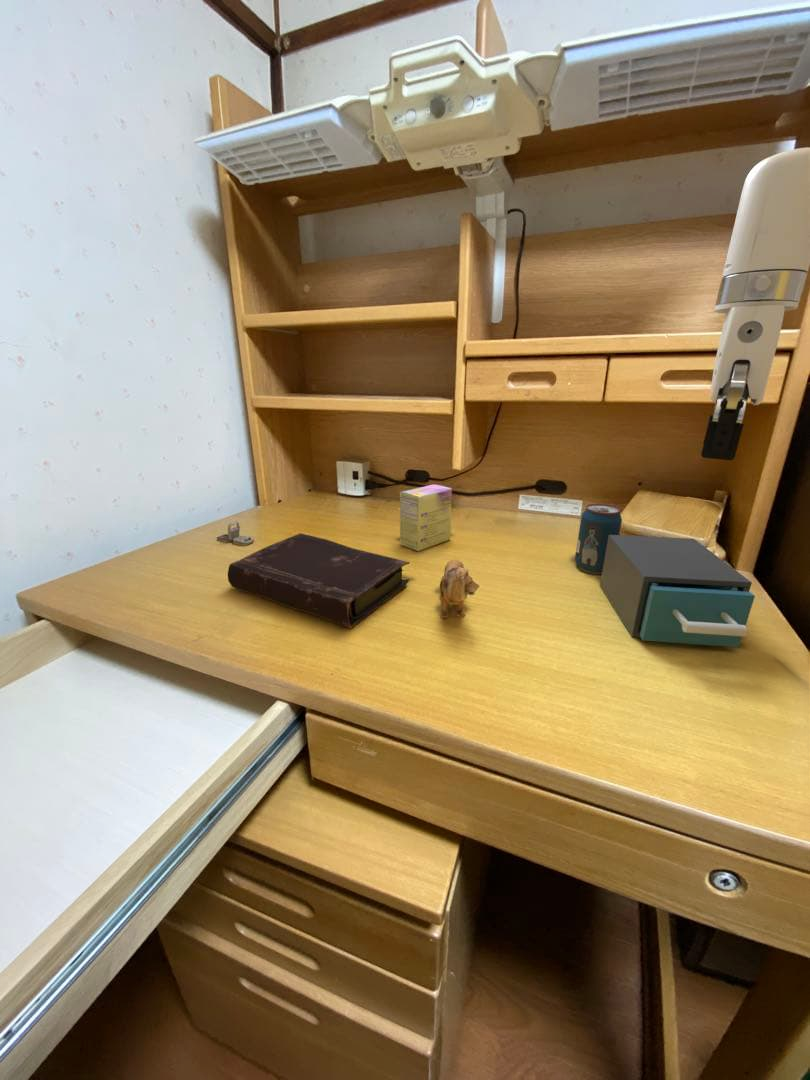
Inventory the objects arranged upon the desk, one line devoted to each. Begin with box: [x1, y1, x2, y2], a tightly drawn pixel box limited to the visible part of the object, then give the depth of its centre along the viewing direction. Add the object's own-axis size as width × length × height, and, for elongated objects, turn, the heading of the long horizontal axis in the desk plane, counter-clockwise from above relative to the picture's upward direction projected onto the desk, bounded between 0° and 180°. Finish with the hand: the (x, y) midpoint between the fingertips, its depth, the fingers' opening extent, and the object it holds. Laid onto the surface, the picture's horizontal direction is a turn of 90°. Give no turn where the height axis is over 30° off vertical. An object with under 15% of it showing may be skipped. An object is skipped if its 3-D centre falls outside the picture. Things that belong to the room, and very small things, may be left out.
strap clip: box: [216, 521, 255, 546], centre depth 99 cm, size 8×3×4 cm, turn 65°
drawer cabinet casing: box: [599, 534, 752, 639], centre depth 71 cm, size 17×14×10 cm
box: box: [399, 483, 453, 552], centre depth 98 cm, size 10×6×12 cm, turn 134°
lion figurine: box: [438, 558, 480, 619], centre depth 72 cm, size 15×5×9 cm, turn 3°
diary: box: [226, 533, 410, 629], centre depth 79 cm, size 19×25×5 cm
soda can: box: [574, 503, 623, 575], centre depth 86 cm, size 7×7×12 cm
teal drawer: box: [639, 582, 756, 648], centre depth 66 cm, size 20×12×8 cm, turn 173°
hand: (716, 452), depth 56 cm, fingers open, 9 cm apart
